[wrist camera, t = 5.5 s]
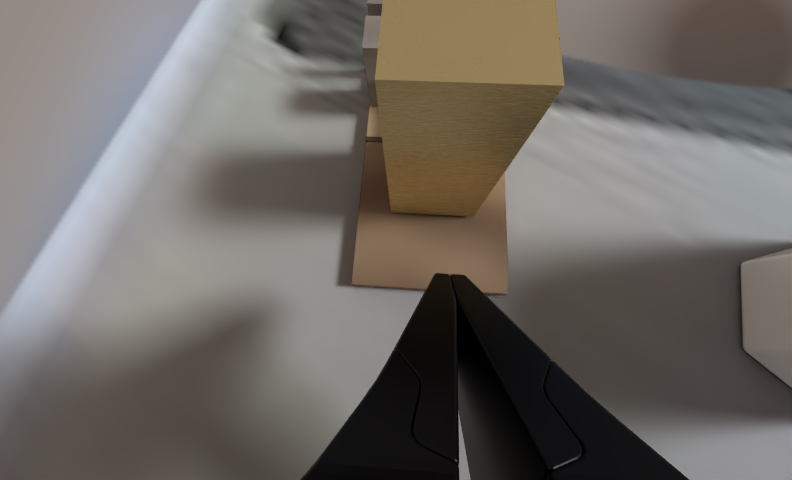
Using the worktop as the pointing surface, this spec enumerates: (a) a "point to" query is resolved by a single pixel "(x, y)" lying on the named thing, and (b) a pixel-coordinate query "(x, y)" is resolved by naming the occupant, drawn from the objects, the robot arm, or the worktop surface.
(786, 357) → the lidded container
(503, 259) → the board
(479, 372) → the robot arm
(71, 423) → the worktop surface
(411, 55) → the tan rectangular block
